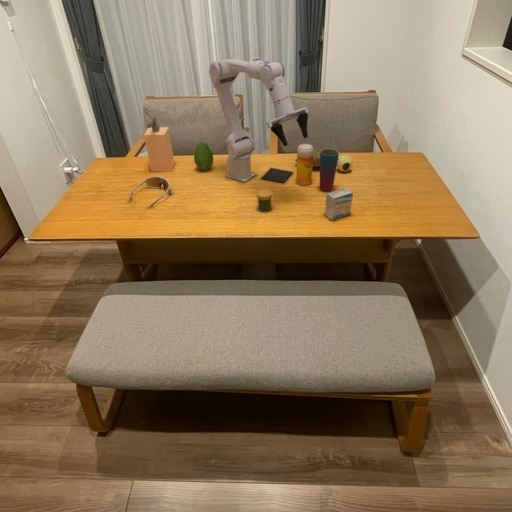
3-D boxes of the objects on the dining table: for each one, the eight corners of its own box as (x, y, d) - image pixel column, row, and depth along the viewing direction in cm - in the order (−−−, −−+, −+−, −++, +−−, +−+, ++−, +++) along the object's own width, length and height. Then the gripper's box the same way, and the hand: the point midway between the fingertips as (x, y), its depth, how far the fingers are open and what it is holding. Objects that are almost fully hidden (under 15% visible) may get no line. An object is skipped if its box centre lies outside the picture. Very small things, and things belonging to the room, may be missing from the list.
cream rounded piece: (335, 167, 165) (336, 152, 161) (351, 167, 164) (353, 152, 160) (336, 173, 160) (337, 158, 156) (352, 174, 159) (354, 158, 155)
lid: (254, 197, 137) (254, 194, 136) (262, 191, 140) (262, 188, 139) (266, 201, 134) (266, 198, 133) (274, 195, 138) (274, 192, 137)
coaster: (261, 179, 158) (261, 177, 158) (270, 169, 165) (270, 167, 165) (283, 183, 155) (283, 182, 154) (292, 173, 162) (292, 171, 161)
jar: (255, 209, 140) (255, 195, 136) (262, 203, 143) (262, 189, 139) (266, 213, 137) (266, 199, 134) (273, 207, 140) (273, 193, 137)
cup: (337, 186, 151) (341, 149, 142) (332, 194, 147) (336, 157, 137) (320, 183, 154) (323, 147, 145) (315, 190, 149) (317, 154, 140)
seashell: (330, 174, 162) (335, 151, 156) (296, 172, 161) (299, 149, 155) (326, 163, 171) (330, 141, 165) (293, 161, 170) (296, 139, 164)
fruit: (206, 163, 171) (203, 137, 164) (218, 168, 167) (215, 141, 160) (192, 169, 167) (188, 142, 160) (203, 175, 163) (200, 147, 155)
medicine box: (331, 220, 132) (334, 198, 127) (324, 214, 135) (326, 193, 130) (350, 214, 135) (353, 192, 130) (342, 209, 138) (345, 187, 133)
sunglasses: (178, 190, 152) (175, 180, 148) (154, 213, 143) (150, 202, 140) (151, 183, 158) (147, 172, 154) (126, 204, 149) (122, 194, 145)
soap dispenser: (155, 163, 173) (145, 113, 160) (174, 162, 173) (166, 113, 159) (149, 176, 163) (137, 124, 150) (169, 175, 163) (159, 123, 149)
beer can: (310, 186, 152) (312, 150, 143) (295, 185, 153) (296, 149, 144) (311, 179, 157) (314, 143, 147) (297, 178, 158) (298, 142, 149)
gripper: (265, 105, 120) (280, 147, 123) (306, 90, 123) (319, 132, 126) (259, 110, 127) (273, 150, 130) (298, 96, 130) (311, 135, 133)
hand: (296, 141), depth 128 cm, fingers open, 7 cm apart
